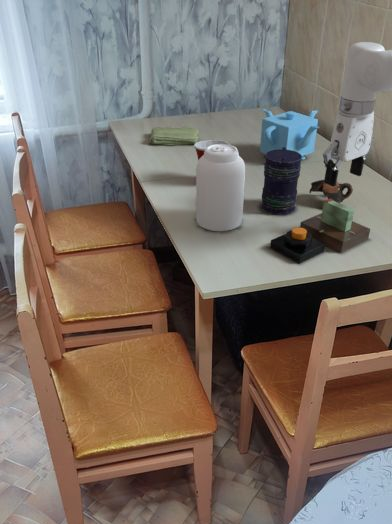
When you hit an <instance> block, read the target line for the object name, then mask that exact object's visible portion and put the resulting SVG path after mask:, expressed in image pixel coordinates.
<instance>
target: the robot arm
mask: <svg viewBox="0 0 392 524" xmlns="http://www.w3.org/2000/svg"><path fill="white" fill-rule="evenodd" d="M346 60H347V61H346V66H345V71H344V78H343V84H342V89H341V95H340V101H339V107H338V113H337V115H336V119H335V122H334V127H333V129H332V133H331V138H330V142H329V146H328V147H327V148H326V150H324V151H323V153H322V157H323V164H324V168H325V174H324V179H323V180H324V183H326V184H328V185H331V186H333V187H334V186H336V182H338V177H339V169H338V168H339V166H340V165H341V164H342V162H344V163H347V162H350V161H351V163H350V168H349V173H350V174H352V175H354V176H356V177H361V176H362V175H363V169H364V166H365V165H364V164H365V160H366V159H367V158H368V155H367V154H368V153H369V151H370V150H371V146H372V144H373V142H374V137H373V130H374V123H375V110H374V109H375V104H376V100H377V95H378V93H386V92H391V91H392V49H385V47H384V46H383V45H382V44H381V43H377V42H372V41H360V42H356V43H355V42H354V44H352V45H351V46H350V48H349V51H348V54H347V59H346ZM334 160H336V161H335V162H334Z"/></svg>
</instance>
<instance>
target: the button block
mask: <svg viewBox="0 0 392 524" xmlns="http://www.w3.org/2000/svg"><path fill="white" fill-rule="evenodd" d="M291 235H292V229H290V230H288V231H286V233H284V234H282V235H279V236H277V237H275V238H272V239H271V240H270V245H269V248H270V249H272V250H274V251H275V252H277V253H279V254H281V255H283V256H285V257H286V258H289V259H290V260H292V261H294V262H296V263H298V264H302V263H303V262H307V261H309V260H310V259H313V258H315V257H316V256H318V255H321V254H323V253H324V252H325V248H326V245H325V244H324V243H322V242H320V241H318V240H316V239H314V238H312V235H311V233H309V232H307V234H306V238H305V239H303V240H298V239H294V238H292V237H291Z"/></svg>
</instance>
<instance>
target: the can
mask: <svg viewBox="0 0 392 524" xmlns="http://www.w3.org/2000/svg"><path fill="white" fill-rule="evenodd" d="M195 171H196V173H195V175H196V176H195V177H196V178H195V179H196V181H195V182H196V183H195V185H196V187H195V188H196V189H195V190H196V193H195V195H196V196H195V201H196V202H195V213H196V214H195V219H196V222H197V224H198V225H199V226H200V227H201V228H203V229H205V230H208V231H212V232H227V231H230V230H231V231H232V230H234V229H236V228H238V227H239V226H240V225H241V224H242V222H243V212H244V198H245V197H244V196H245V195H244V194H245V183H246V182H245V181H246V180H245V178H246V164H245V161H244V159H243V158H242V157H241V156H240V155H239V150H238V148H237V147H236V146H234V145H232V144H230V145H227V144H215V145H210V146H208V147H206V149H205V151H204V155H203V156H202V157H201V158H200V159H199V161H198V160H197V164H196V168H195Z"/></svg>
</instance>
